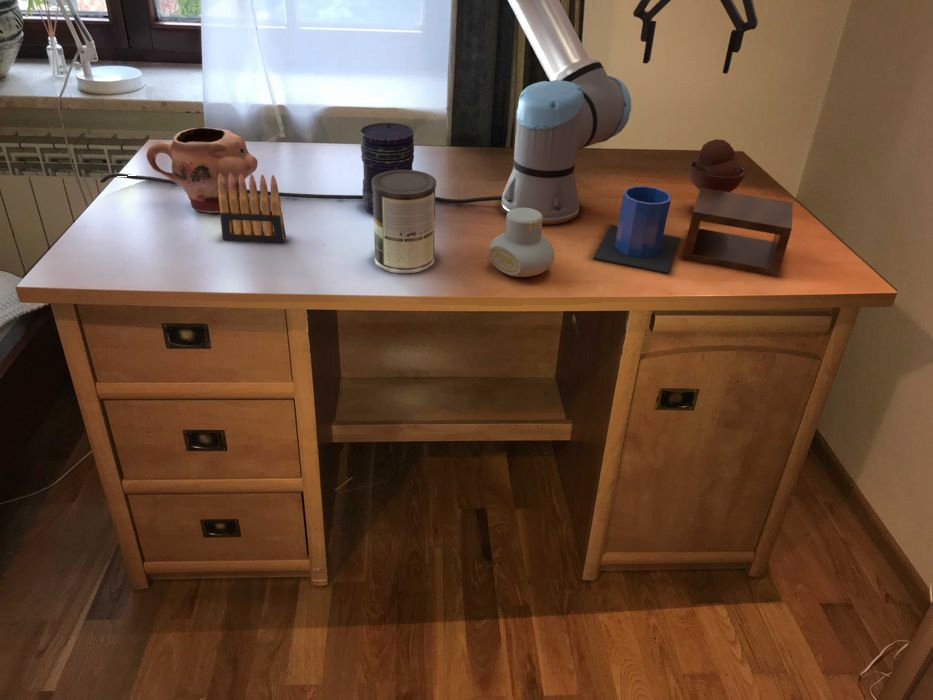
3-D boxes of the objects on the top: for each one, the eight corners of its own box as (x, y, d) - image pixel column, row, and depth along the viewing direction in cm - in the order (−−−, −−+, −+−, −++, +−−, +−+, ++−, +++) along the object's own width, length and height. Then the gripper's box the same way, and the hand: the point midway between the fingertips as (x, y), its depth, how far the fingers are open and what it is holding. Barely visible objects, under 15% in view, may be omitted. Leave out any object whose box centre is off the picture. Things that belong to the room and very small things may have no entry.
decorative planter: (146, 218, 138) (131, 143, 131) (162, 192, 148) (149, 122, 141) (258, 218, 140) (249, 144, 133) (266, 193, 150) (259, 123, 143)
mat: (592, 259, 132) (593, 257, 132) (610, 226, 144) (610, 224, 143) (668, 274, 128) (668, 272, 128) (679, 239, 140) (679, 237, 140)
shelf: (682, 258, 133) (692, 211, 128) (690, 232, 143) (700, 187, 138) (777, 277, 129) (792, 228, 124) (779, 248, 139) (792, 202, 134)
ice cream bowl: (738, 227, 146) (757, 151, 138) (679, 220, 147) (695, 144, 139) (733, 206, 155) (751, 133, 146) (677, 200, 156) (692, 127, 148)
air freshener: (560, 273, 127) (567, 218, 121) (527, 289, 122) (533, 232, 116) (512, 251, 133) (517, 197, 128) (479, 265, 128) (482, 209, 123)
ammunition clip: (222, 240, 132) (212, 174, 126) (225, 235, 134) (216, 170, 127) (283, 243, 132) (277, 177, 126) (286, 238, 134) (279, 173, 127)
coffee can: (361, 260, 128) (358, 180, 120) (403, 241, 135) (402, 164, 127) (405, 280, 123) (405, 198, 115) (447, 259, 130) (449, 180, 122)
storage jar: (412, 218, 143) (412, 140, 135) (360, 216, 143) (357, 138, 134) (415, 198, 151) (415, 123, 143) (366, 196, 151) (363, 121, 143)
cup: (611, 252, 134) (620, 198, 128) (620, 234, 140) (628, 183, 134) (656, 261, 131) (667, 207, 126) (663, 242, 138) (674, 190, 132)
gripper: (628, -78, 120) (609, 62, 132) (793, -66, 113) (758, 81, 125) (638, -80, 126) (619, 53, 138) (796, -69, 119) (762, 71, 130)
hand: (685, 67), depth 131 cm, fingers open, 13 cm apart
